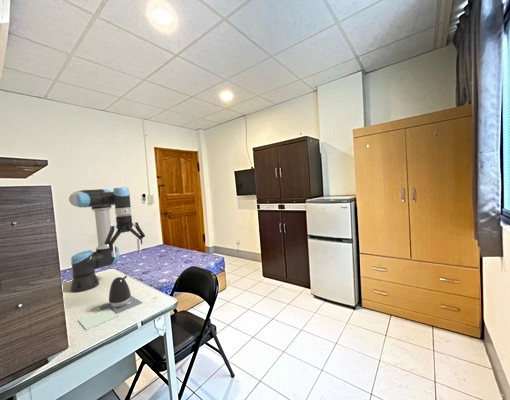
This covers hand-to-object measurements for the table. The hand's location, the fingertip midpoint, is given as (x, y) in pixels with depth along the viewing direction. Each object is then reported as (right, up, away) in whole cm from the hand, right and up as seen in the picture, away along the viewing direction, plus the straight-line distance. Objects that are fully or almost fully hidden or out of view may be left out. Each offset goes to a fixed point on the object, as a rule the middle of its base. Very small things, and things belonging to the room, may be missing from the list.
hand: (127, 253), depth 126 cm
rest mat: (-6, -28, -15) cm, 33 cm away
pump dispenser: (-2, -28, -3) cm, 28 cm away
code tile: (-2, -28, -3) cm, 28 cm away
